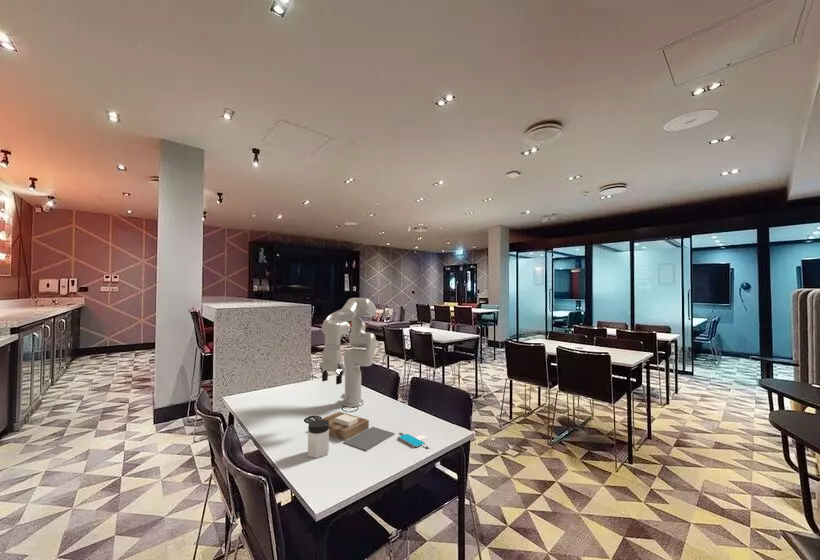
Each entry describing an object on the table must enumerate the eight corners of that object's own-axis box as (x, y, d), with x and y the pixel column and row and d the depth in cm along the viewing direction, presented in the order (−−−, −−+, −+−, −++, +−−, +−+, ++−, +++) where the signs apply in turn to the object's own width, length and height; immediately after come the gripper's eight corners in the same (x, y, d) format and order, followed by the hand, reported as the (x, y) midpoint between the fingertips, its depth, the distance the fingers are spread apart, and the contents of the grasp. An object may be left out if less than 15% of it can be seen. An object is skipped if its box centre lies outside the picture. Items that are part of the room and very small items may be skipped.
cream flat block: (334, 422, 157) (334, 417, 157) (343, 418, 162) (344, 414, 162) (348, 426, 152) (348, 422, 152) (357, 422, 157) (357, 418, 157)
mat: (343, 443, 144) (343, 442, 144) (372, 427, 161) (372, 426, 161) (366, 451, 137) (366, 450, 137) (394, 434, 153) (394, 433, 153)
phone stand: (440, 445, 144) (440, 441, 144) (420, 454, 136) (420, 450, 136) (410, 430, 159) (410, 427, 159) (390, 437, 151) (390, 433, 151)
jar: (302, 455, 133) (303, 425, 133) (315, 446, 140) (316, 418, 141) (321, 459, 130) (321, 428, 130) (333, 450, 137) (333, 421, 138)
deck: (314, 430, 157) (314, 421, 157) (338, 419, 170) (338, 411, 171) (344, 440, 146) (344, 431, 146) (368, 428, 159) (368, 420, 160)
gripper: (314, 346, 166) (313, 381, 165) (339, 349, 156) (338, 386, 155) (326, 344, 172) (325, 378, 171) (350, 347, 163) (350, 383, 162)
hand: (331, 382), depth 163 cm, fingers open, 9 cm apart
